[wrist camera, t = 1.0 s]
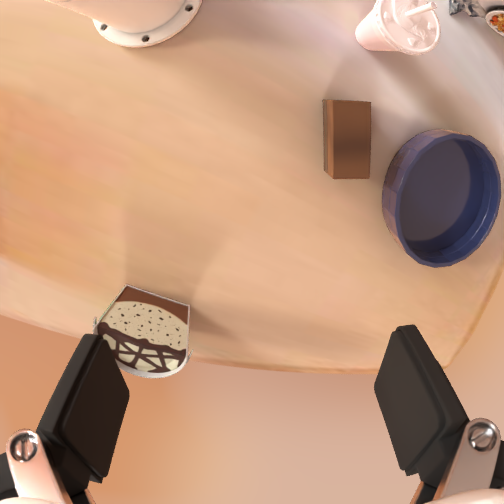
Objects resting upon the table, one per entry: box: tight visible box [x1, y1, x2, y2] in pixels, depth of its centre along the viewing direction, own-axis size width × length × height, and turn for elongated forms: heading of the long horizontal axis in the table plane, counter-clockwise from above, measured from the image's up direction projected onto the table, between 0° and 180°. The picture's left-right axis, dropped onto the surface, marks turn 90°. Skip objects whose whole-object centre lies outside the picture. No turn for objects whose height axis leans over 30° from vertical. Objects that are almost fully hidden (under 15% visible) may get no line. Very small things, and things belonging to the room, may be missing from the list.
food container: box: [93, 284, 193, 378], centre depth 38 cm, size 12×6×10 cm, turn 69°
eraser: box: [323, 100, 371, 179], centre depth 30 cm, size 8×4×4 cm, turn 4°
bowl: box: [382, 129, 501, 268], centre depth 33 cm, size 17×17×4 cm
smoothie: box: [355, 0, 441, 55], centre depth 20 cm, size 6×6×14 cm
